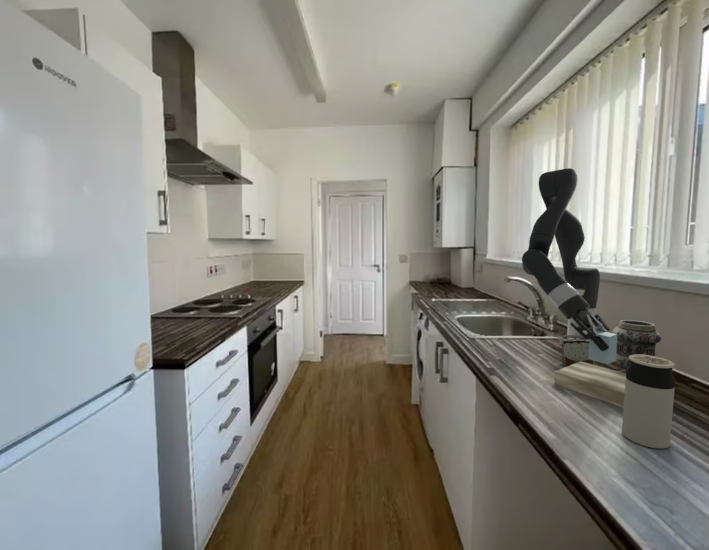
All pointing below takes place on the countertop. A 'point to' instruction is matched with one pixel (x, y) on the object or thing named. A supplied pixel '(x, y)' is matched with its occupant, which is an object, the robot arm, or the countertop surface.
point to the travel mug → (648, 401)
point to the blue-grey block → (608, 354)
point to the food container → (574, 350)
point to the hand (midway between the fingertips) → (610, 347)
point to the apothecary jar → (634, 341)
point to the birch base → (593, 382)
